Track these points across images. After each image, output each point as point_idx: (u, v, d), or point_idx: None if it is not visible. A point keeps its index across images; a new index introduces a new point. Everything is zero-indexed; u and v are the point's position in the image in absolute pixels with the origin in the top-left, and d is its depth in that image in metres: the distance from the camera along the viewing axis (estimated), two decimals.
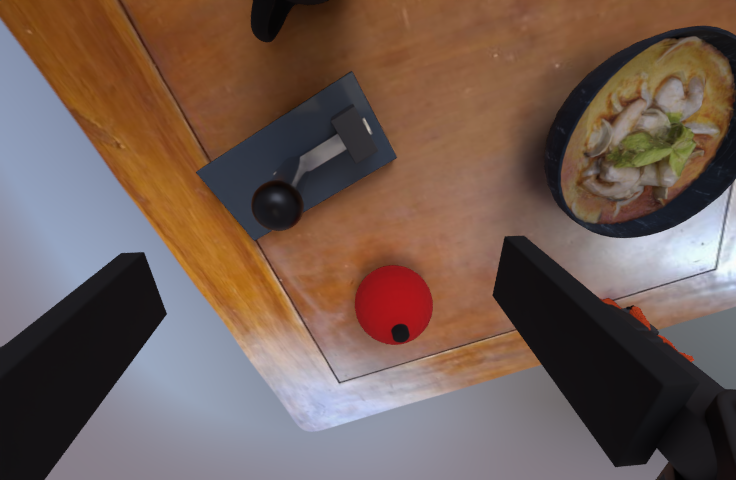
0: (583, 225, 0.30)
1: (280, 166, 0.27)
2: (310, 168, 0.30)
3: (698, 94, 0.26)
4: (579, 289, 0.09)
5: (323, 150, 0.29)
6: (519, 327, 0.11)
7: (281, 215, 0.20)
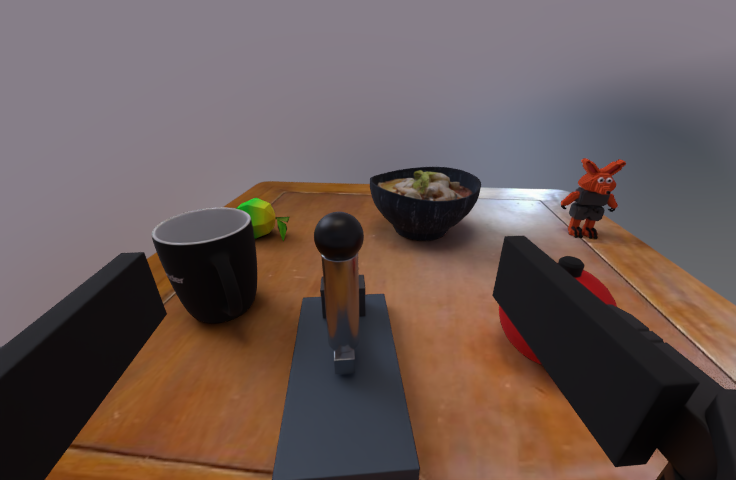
0: (465, 197, 0.44)
1: None
2: None
3: (405, 179, 0.54)
4: (580, 289, 0.09)
5: None
6: (519, 327, 0.11)
7: (342, 212, 0.22)
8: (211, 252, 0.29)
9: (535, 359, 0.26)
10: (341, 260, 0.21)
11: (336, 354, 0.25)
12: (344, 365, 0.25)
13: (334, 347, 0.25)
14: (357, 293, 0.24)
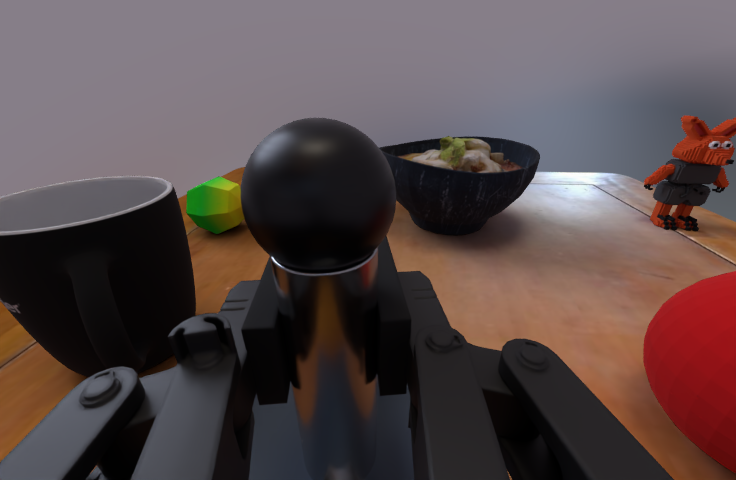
0: (524, 167, 0.29)
1: None
2: None
3: (426, 152, 0.39)
4: (385, 257, 0.10)
5: None
6: None
7: None
8: (65, 251, 0.14)
9: None
10: (327, 271, 0.07)
11: None
12: None
13: (317, 479, 0.10)
14: (374, 356, 0.09)
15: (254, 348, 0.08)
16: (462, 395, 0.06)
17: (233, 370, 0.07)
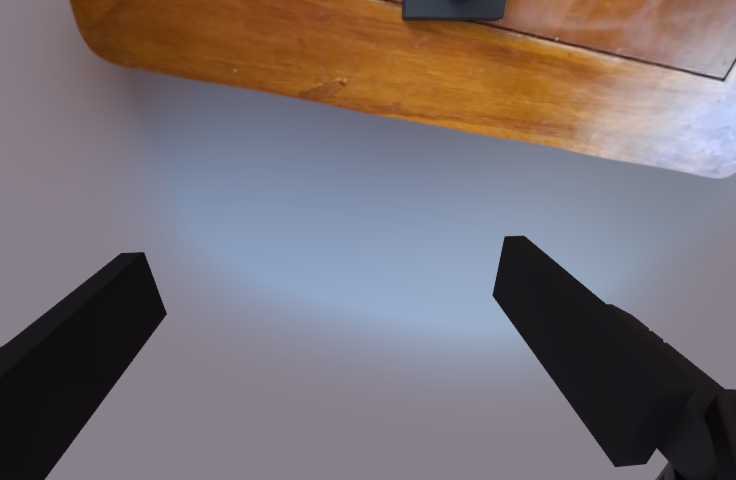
0: None
1: None
2: None
3: None
4: (580, 289, 0.09)
5: None
6: (519, 327, 0.11)
7: None
8: None
9: None
10: None
11: None
12: None
13: None
14: None
15: None
16: None
17: None
